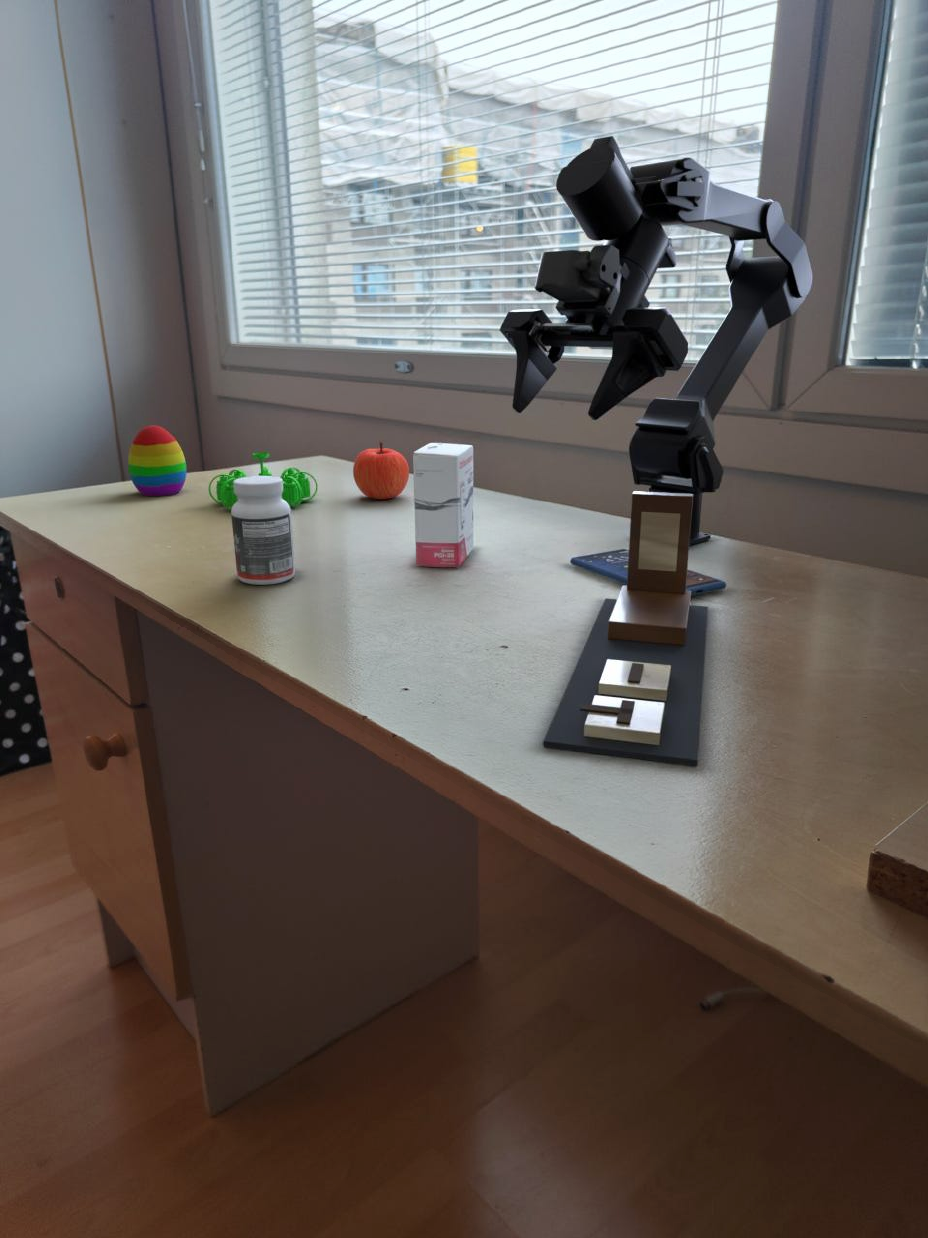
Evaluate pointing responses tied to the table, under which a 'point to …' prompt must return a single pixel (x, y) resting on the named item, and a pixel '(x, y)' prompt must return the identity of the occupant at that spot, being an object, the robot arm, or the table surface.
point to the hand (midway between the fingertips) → (552, 413)
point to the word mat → (634, 696)
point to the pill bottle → (262, 531)
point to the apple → (380, 473)
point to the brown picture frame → (655, 571)
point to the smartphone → (617, 569)
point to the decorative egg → (156, 462)
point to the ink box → (443, 504)
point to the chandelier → (293, 484)
